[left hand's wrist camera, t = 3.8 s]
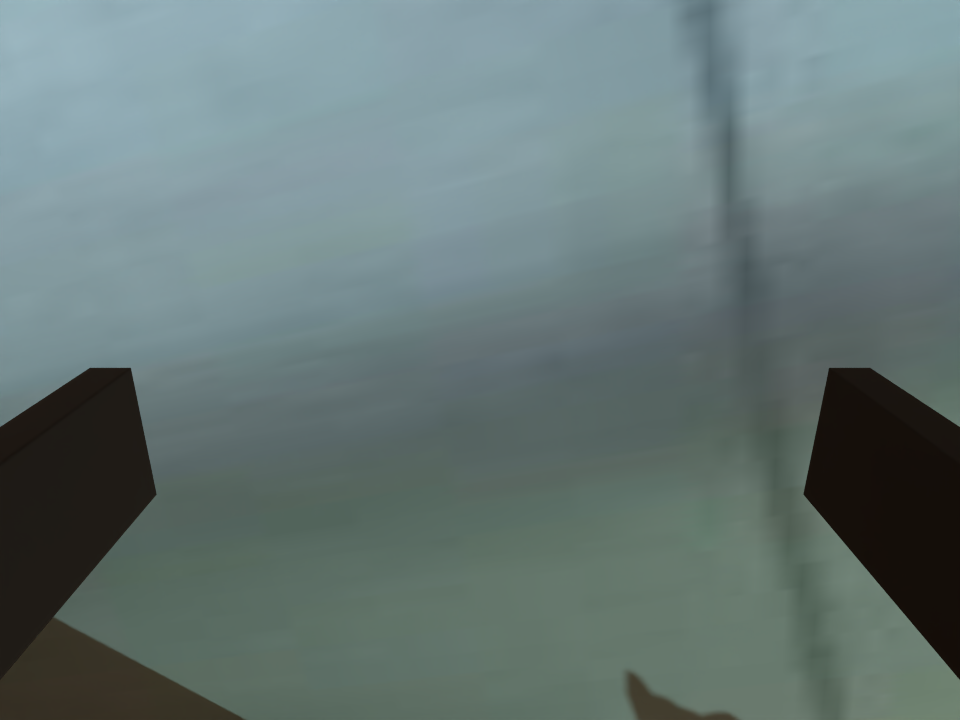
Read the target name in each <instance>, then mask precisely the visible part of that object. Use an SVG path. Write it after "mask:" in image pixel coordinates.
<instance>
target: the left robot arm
mask: <svg viewBox="0 0 960 720" xmlns="http://www.w3.org/2000/svg"><path fill="white" fill-rule="evenodd" d="M155 496H156V490H155V485H154V480H153V475H152V470H151V465H150V460H149V455H148V450H147V445H146V440H145V436H144V431H143V426H142V421H141V416H140V411H139V406H138V401H137V396H136V391H135V386H134V381H133V377H132V372H131V368H89V369H88V370H86V371H85V372H83V373H82V374H80V375H79V376H77V377H76V378H74V379H72V380H71V381H69V382H68V383H66V384H65V385H63V386H62V387H60V388H59V389H57V390H56V391H54V392H53V393H51V394H50V395H48V396H47V397H45V398H44V399H42V400H41V401H39V402H38V403H36V404H35V405H33V406H31V407H30V408H28V409H27V410H25V411H24V412H22V413H21V414H19V415H18V416H16V417H15V418H13V419H12V420H10V421H9V422H7V423H6V424H4V425H3V426H1V427H0V679H1V678H2V677H3V676H4V675H5V673H6V672H7V671H8V670H9V669H10V667H11V666H12V665H13V664H14V663H15V662H16V660H17V659H18V658H19V657H20V656H21V654H22V653H23V652H24V651H25V650H26V648H27V647H28V646H29V645H30V644H31V643H32V641H33V640H34V639H35V638H36V637H37V635H38V634H39V633H40V632H41V631H42V630H43V628H44V627H45V626H46V625H47V624H48V622H49V621H50V620H51V619H52V618H53V616H54V615H55V614H56V613H57V612H58V611H59V609H60V608H61V607H62V606H63V605H64V603H65V602H66V601H67V600H68V599H69V598H70V596H71V595H72V594H73V593H74V592H75V590H76V589H77V588H78V587H79V586H80V584H81V583H82V582H83V581H84V580H85V579H86V577H87V576H88V575H89V574H90V573H91V571H92V570H93V569H94V568H95V567H96V566H97V564H98V563H99V562H100V561H101V560H102V558H103V557H104V556H105V555H106V554H107V552H108V551H109V550H110V549H111V548H112V547H113V545H114V544H115V543H116V542H117V541H118V539H119V538H120V537H121V536H122V535H123V534H124V532H125V531H126V530H127V529H128V528H129V526H130V525H131V524H132V523H133V522H134V520H135V519H136V518H137V517H138V516H139V515H140V513H141V512H142V511H143V510H144V509H145V507H146V506H147V505H148V504H149V503H150V502H151V500H152V499H153V498H154V497H155ZM804 496H805V497H806V498H807V499H808V500H809V502H810V503H811V504H812V505H813V506H814V507H815V509H816V510H817V511H818V512H819V513H820V515H821V516H822V517H823V518H824V519H825V520H826V522H827V523H828V524H829V525H830V526H831V528H832V529H833V530H834V531H835V532H836V534H837V535H838V536H839V537H840V538H841V539H842V541H843V542H844V543H845V544H846V545H847V547H848V548H849V549H850V550H851V551H852V552H853V554H854V555H855V556H856V557H857V558H858V560H859V561H860V562H861V563H862V564H863V566H864V567H865V568H866V569H867V570H868V571H869V573H870V574H871V575H872V576H873V577H874V579H875V580H876V581H877V582H878V583H879V584H880V586H881V587H882V588H883V589H884V590H885V592H886V593H887V594H888V595H889V596H890V598H891V599H892V600H893V601H894V602H895V603H896V605H897V606H898V607H899V608H900V609H901V611H902V612H903V613H904V614H905V615H906V616H907V618H908V619H909V620H910V621H911V622H912V624H913V625H914V626H915V627H916V628H917V630H918V631H919V632H920V633H921V634H922V635H923V637H924V638H925V639H926V640H927V641H928V643H929V644H930V645H931V646H932V647H933V648H934V650H935V651H936V652H937V653H938V654H939V656H940V657H941V658H942V659H943V660H944V662H945V663H946V664H947V665H948V666H949V667H950V669H951V670H952V671H953V672H954V673H955V675H956V676H957V677H958V678H959V679H960V427H959V426H957V425H956V424H954V423H953V422H951V421H950V420H948V419H947V418H945V417H944V416H942V415H941V414H939V413H938V412H936V411H935V410H933V409H932V408H930V407H929V406H927V405H925V404H924V403H922V402H921V401H919V400H918V399H916V398H915V397H913V396H912V395H910V394H909V393H907V392H906V391H904V390H903V389H901V388H900V387H898V386H897V385H895V384H894V383H892V382H891V381H889V380H888V379H886V378H884V377H883V376H881V375H880V374H878V373H877V372H875V371H874V370H872V369H871V368H829V372H828V377H827V381H826V386H825V391H824V396H823V401H822V406H821V411H820V416H819V421H818V426H817V431H816V436H815V440H814V445H813V450H812V455H811V460H810V465H809V470H808V475H807V480H806V485H805V490H804Z"/></svg>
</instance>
